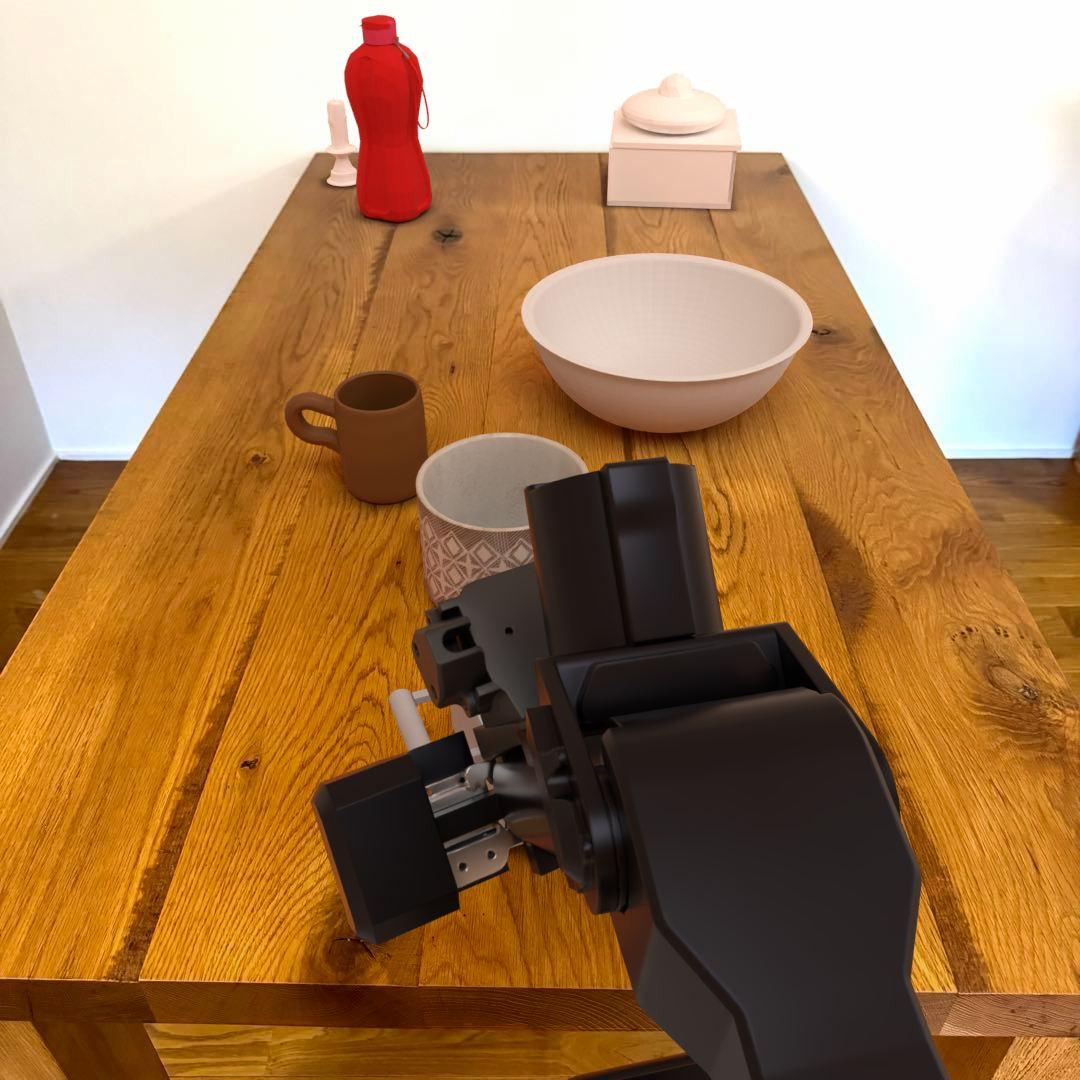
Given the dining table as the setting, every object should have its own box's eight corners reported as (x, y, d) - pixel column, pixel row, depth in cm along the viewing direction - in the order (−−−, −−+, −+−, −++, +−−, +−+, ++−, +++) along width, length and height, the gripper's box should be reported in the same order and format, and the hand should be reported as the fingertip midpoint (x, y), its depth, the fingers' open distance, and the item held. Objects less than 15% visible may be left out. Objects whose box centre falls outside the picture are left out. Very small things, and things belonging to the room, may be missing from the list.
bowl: (795, 494, 92) (813, 395, 85) (494, 461, 96) (491, 364, 90) (798, 351, 113) (812, 263, 107) (551, 330, 117) (551, 244, 111)
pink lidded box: (612, 165, 162) (616, 55, 152) (729, 168, 160) (740, 57, 150) (606, 205, 148) (610, 87, 138) (734, 209, 146) (747, 90, 137)
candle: (347, 189, 154) (337, 104, 146) (319, 183, 156) (308, 99, 149) (370, 178, 157) (361, 95, 150) (342, 172, 159) (332, 90, 152)
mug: (288, 507, 90) (270, 414, 85) (304, 459, 96) (288, 369, 91) (426, 507, 90) (417, 413, 85) (433, 458, 96) (426, 368, 91)
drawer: (436, 873, 60) (427, 792, 56) (389, 745, 68) (378, 665, 63) (693, 786, 65) (704, 706, 61) (622, 676, 73) (627, 597, 68)
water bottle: (418, 230, 141) (402, 28, 126) (350, 217, 145) (326, 20, 129) (451, 207, 147) (440, 13, 132) (385, 196, 151) (367, 6, 136)
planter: (619, 603, 80) (625, 493, 74) (476, 665, 75) (469, 552, 69) (532, 521, 89) (531, 415, 82) (398, 571, 83) (386, 463, 77)
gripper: (768, 493, 39) (612, 557, 54) (284, 649, 33) (255, 674, 47) (868, 775, 39) (682, 763, 53) (394, 993, 32) (330, 911, 47)
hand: (498, 771), depth 50 cm, fingers open, 4 cm apart
